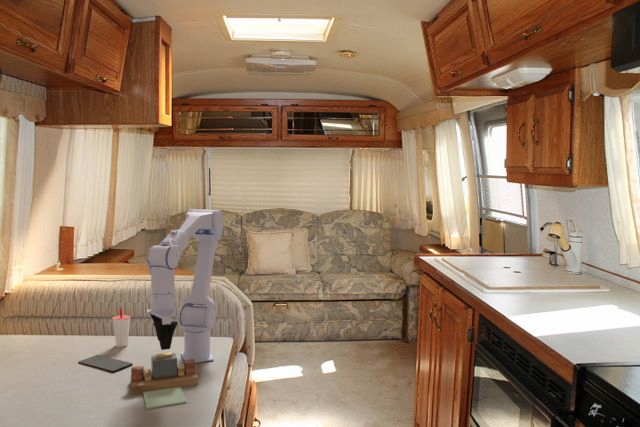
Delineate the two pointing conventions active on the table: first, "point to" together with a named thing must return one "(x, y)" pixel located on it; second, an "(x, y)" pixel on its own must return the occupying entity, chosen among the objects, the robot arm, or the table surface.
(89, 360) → the smartphone
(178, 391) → the mat
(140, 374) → the block sculpture plaque
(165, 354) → the grey block
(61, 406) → the table surface
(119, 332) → the cup
